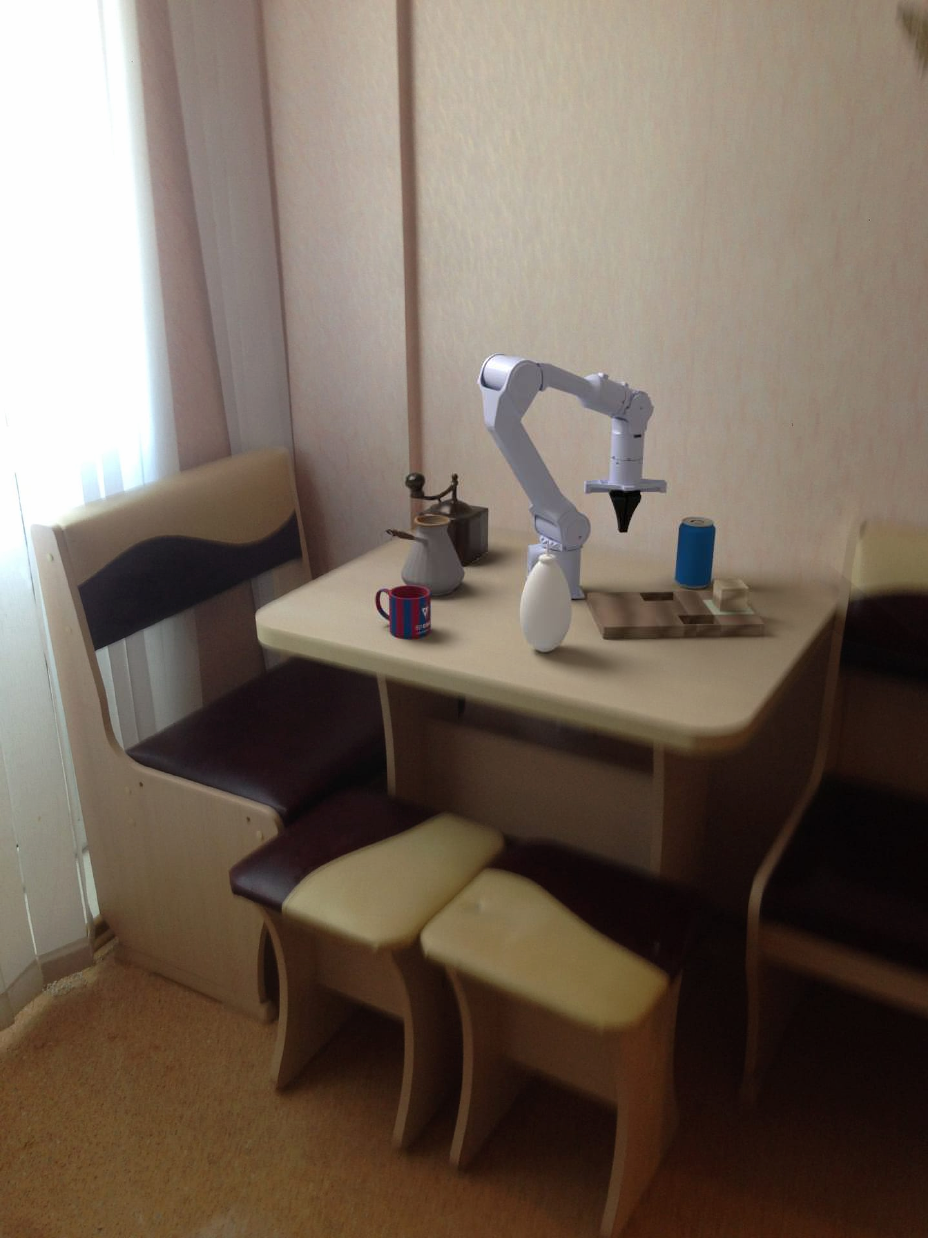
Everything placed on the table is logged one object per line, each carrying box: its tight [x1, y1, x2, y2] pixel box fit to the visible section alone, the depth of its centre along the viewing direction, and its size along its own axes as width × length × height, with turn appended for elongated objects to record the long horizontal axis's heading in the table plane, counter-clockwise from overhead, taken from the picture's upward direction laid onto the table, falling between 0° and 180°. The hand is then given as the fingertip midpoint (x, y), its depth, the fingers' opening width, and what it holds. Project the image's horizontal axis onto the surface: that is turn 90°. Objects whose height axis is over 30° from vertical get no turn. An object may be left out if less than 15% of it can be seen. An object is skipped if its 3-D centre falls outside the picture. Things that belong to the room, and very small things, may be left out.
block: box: [712, 578, 750, 612], centre depth 179 cm, size 4×4×4 cm
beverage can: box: [674, 516, 717, 590], centre depth 194 cm, size 6×6×12 cm
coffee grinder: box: [404, 472, 489, 567], centre depth 206 cm, size 16×11×18 cm
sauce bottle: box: [519, 539, 573, 653], centre depth 165 cm, size 8×8×18 cm
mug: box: [374, 584, 432, 640], centre depth 175 cm, size 7×10×7 cm
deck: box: [586, 590, 765, 640], centre depth 180 cm, size 26×16×2 cm, turn 93°
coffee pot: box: [380, 515, 466, 597], centre depth 187 cm, size 21×12×15 cm, turn 152°
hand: (622, 531), depth 195 cm, fingers closed
